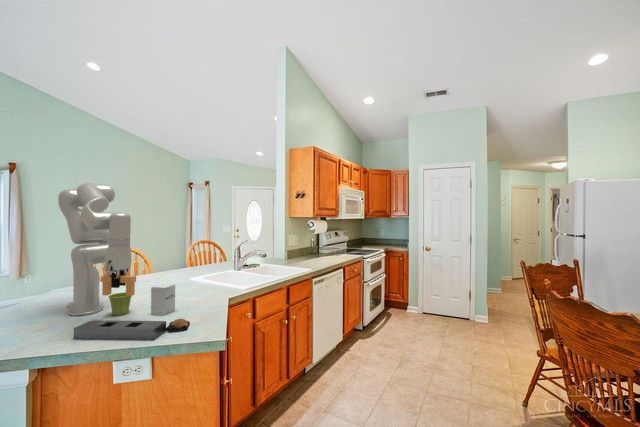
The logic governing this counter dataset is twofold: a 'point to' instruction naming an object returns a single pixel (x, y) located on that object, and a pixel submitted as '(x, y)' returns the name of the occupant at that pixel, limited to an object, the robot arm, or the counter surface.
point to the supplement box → (162, 299)
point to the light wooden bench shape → (123, 279)
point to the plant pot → (119, 303)
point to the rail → (120, 330)
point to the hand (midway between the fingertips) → (118, 286)
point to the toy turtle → (178, 326)
